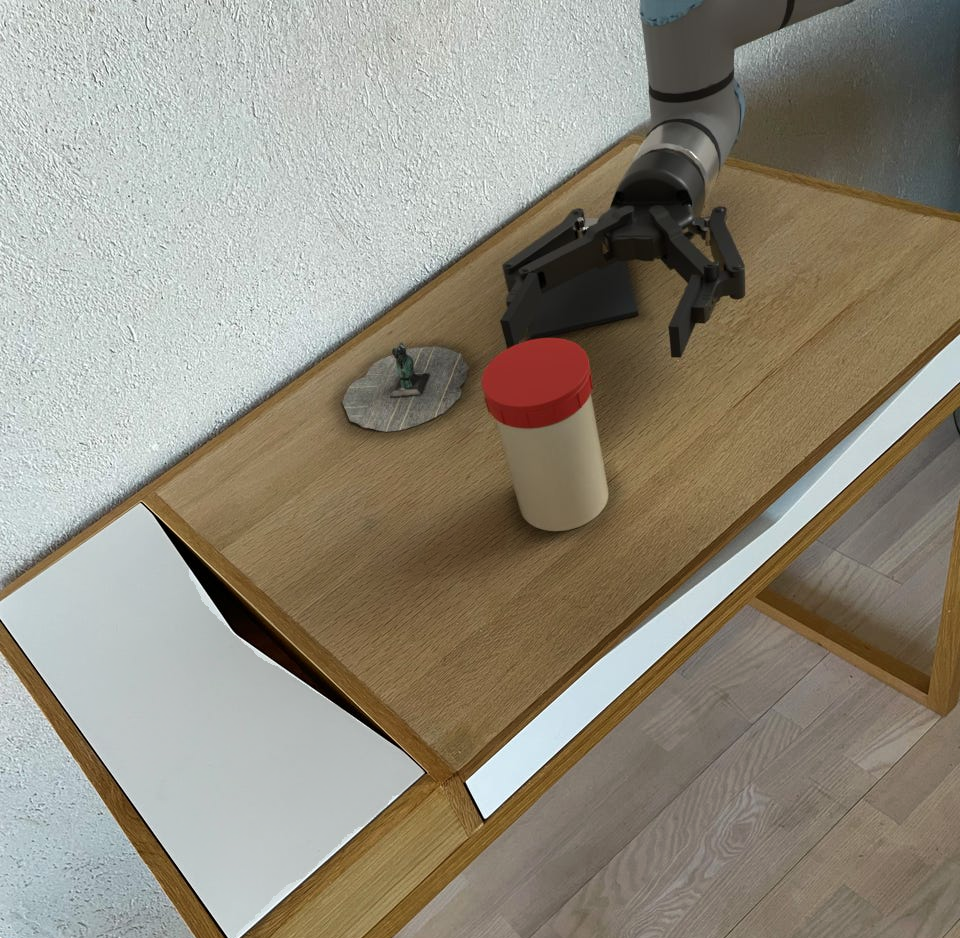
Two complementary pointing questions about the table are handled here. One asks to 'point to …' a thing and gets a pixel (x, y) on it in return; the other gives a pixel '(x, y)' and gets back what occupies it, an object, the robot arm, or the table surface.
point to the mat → (586, 302)
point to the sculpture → (406, 388)
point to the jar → (557, 470)
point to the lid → (537, 383)
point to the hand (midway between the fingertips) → (587, 339)
